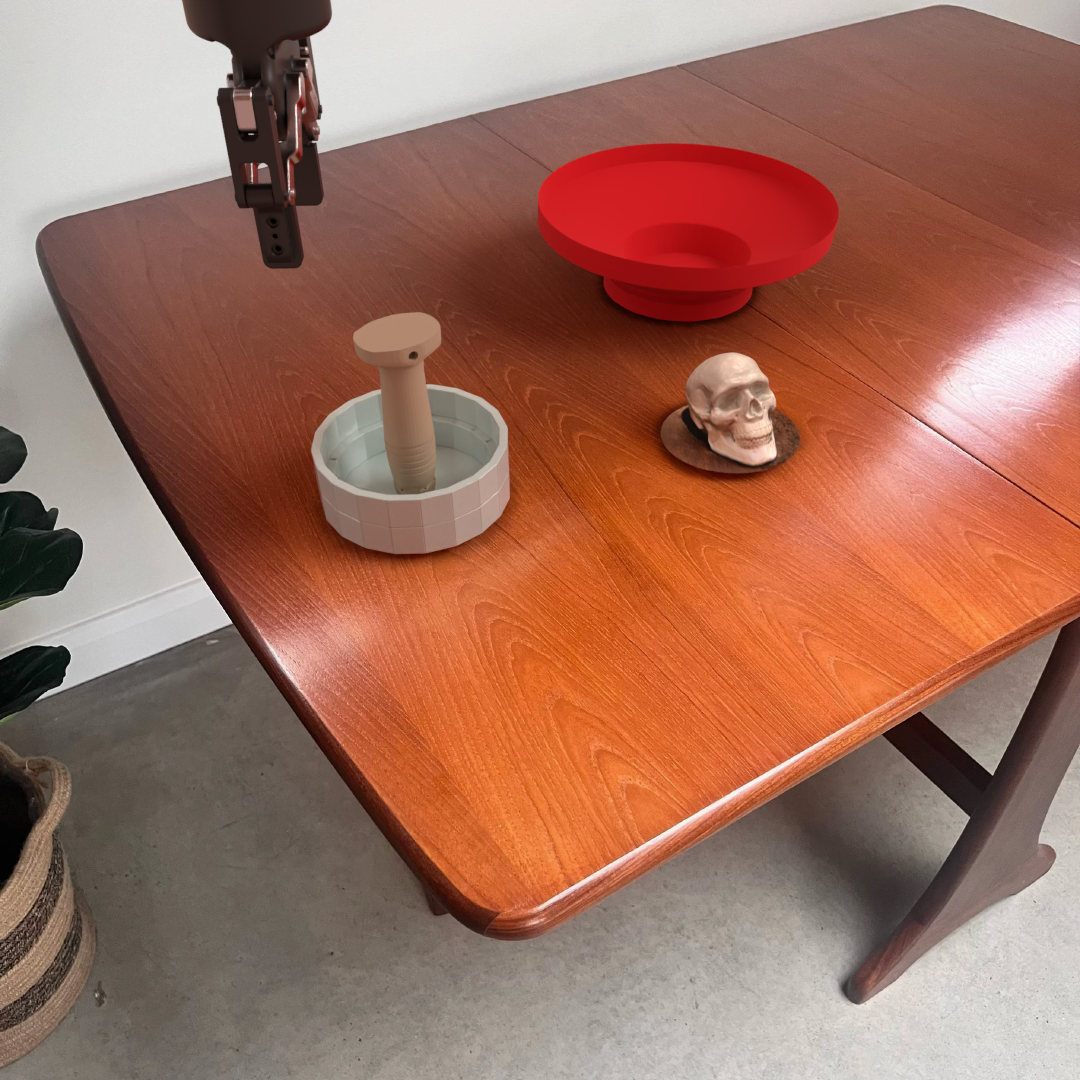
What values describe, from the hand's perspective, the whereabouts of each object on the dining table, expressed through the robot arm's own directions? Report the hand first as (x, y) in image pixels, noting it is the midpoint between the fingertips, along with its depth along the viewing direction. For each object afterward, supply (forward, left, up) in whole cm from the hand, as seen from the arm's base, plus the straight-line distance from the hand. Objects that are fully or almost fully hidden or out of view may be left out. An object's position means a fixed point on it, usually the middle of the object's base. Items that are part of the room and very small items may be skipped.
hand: (296, 233), depth 63 cm
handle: (+4, +8, -27) cm, 28 cm away
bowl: (+30, +43, -27) cm, 59 cm away
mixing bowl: (+4, +8, -27) cm, 28 cm away
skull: (+31, +15, -27) cm, 44 cm away
